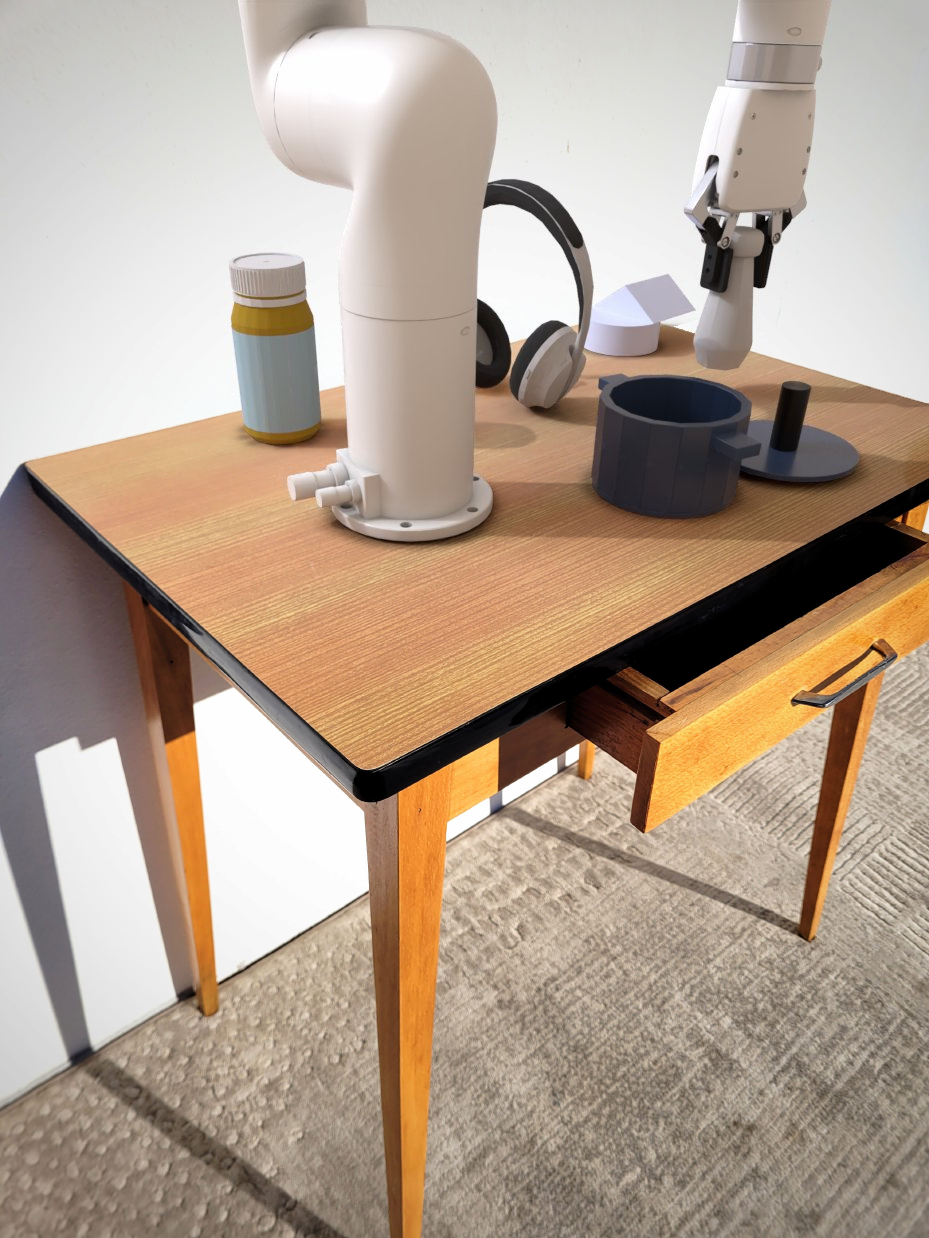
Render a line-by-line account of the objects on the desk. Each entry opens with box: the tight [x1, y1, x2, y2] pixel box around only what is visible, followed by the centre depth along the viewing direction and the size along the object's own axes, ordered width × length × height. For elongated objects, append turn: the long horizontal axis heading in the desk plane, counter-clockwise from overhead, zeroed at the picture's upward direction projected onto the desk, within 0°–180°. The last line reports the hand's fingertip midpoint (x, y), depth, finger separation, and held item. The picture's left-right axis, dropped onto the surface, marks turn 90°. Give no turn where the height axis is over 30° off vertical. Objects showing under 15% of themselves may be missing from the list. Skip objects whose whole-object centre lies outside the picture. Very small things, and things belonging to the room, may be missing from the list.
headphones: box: [475, 178, 595, 409], centre depth 88 cm, size 19×8×20 cm, turn 45°
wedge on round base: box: [584, 273, 697, 357], centre depth 108 cm, size 9×7×13 cm
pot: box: [590, 373, 762, 519], centre depth 74 cm, size 12×17×8 cm
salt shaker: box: [693, 225, 764, 371], centre depth 90 cm, size 6×6×13 cm
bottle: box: [228, 251, 322, 445], centre depth 80 cm, size 7×7×15 cm
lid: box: [740, 380, 860, 483], centre depth 79 cm, size 13×13×7 cm
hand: (732, 285), depth 90 cm, fingers closed on salt shaker, 4 cm apart
